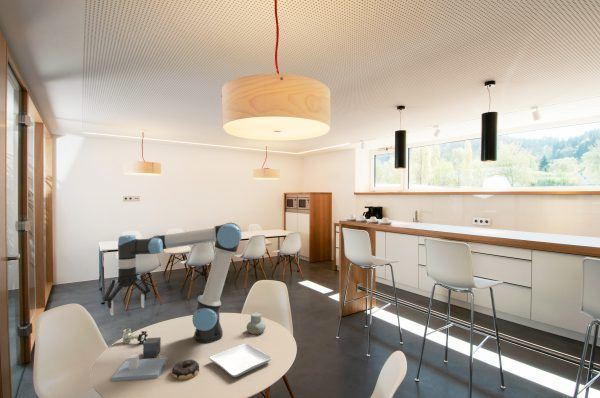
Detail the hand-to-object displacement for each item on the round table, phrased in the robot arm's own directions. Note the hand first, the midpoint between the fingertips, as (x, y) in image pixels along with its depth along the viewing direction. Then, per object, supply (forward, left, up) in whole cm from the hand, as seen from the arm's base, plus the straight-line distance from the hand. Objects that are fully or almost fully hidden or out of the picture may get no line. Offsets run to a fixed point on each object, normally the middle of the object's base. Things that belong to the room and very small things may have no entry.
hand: (127, 310), depth 149 cm
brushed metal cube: (-12, +2, -21) cm, 24 cm away
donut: (-32, +21, -22) cm, 44 cm away
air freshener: (-62, -18, -21) cm, 68 cm away
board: (-12, +16, -21) cm, 29 cm away
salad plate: (-55, +16, -22) cm, 61 cm away
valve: (+2, -13, -22) cm, 25 cm away
